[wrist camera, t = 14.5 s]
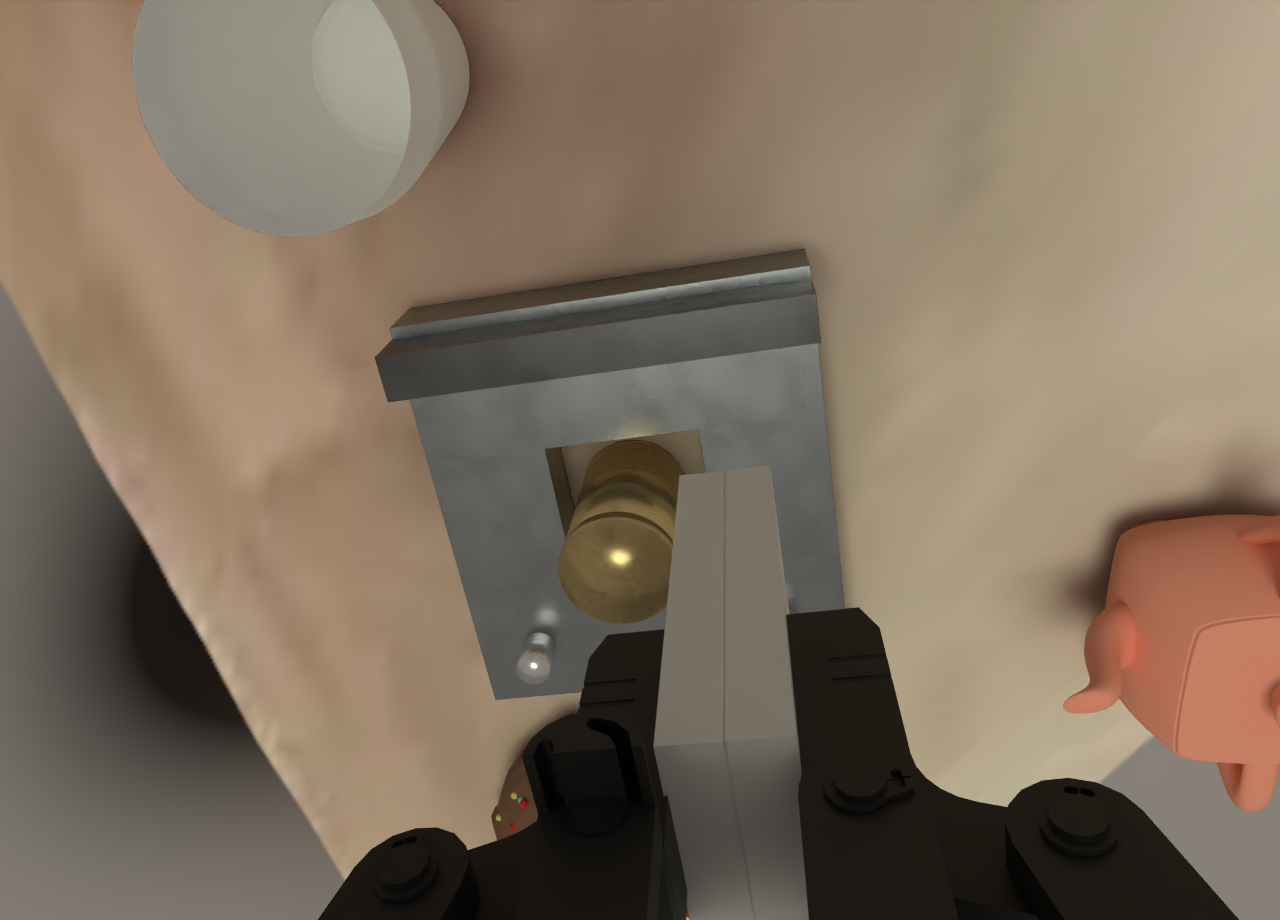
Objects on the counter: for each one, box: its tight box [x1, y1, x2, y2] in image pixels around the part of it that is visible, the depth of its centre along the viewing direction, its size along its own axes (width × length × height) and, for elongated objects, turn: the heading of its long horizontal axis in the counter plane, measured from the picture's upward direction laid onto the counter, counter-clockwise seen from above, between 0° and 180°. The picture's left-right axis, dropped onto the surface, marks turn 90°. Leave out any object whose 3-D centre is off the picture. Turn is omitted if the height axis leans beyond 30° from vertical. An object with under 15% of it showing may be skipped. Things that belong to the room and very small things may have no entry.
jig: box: [375, 249, 845, 700], centre depth 45 cm, size 20×18×5 cm
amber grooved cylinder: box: [558, 440, 684, 624], centre depth 45 cm, size 5×5×8 cm
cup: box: [132, 0, 470, 237], centre depth 35 cm, size 9×9×12 cm
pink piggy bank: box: [1063, 514, 1280, 812], centre depth 43 cm, size 14×12×10 cm
